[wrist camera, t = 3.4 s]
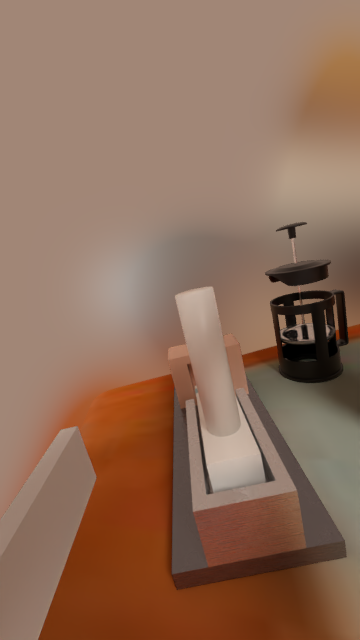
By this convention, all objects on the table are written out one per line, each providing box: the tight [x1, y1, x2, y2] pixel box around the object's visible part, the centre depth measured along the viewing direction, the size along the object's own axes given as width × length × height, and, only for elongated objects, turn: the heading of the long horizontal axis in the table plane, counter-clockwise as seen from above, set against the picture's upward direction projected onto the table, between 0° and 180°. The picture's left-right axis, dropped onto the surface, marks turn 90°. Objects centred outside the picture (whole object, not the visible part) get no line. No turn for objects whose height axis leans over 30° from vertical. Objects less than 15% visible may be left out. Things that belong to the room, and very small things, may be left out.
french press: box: [265, 222, 349, 383], centre depth 40 cm, size 12×9×23 cm
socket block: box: [168, 334, 249, 409], centre depth 39 cm, size 10×5×8 cm, turn 91°
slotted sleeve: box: [172, 376, 347, 590], centre depth 31 cm, size 12×27×6 cm, turn 1°
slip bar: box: [175, 287, 266, 493], centre depth 24 cm, size 4×12×16 cm, turn 1°
